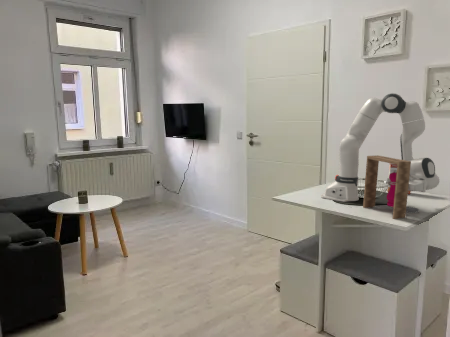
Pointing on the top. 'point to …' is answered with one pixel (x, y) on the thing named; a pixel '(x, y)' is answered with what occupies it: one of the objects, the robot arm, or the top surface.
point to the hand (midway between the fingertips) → (393, 184)
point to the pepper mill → (392, 189)
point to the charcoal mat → (411, 209)
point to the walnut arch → (400, 187)
